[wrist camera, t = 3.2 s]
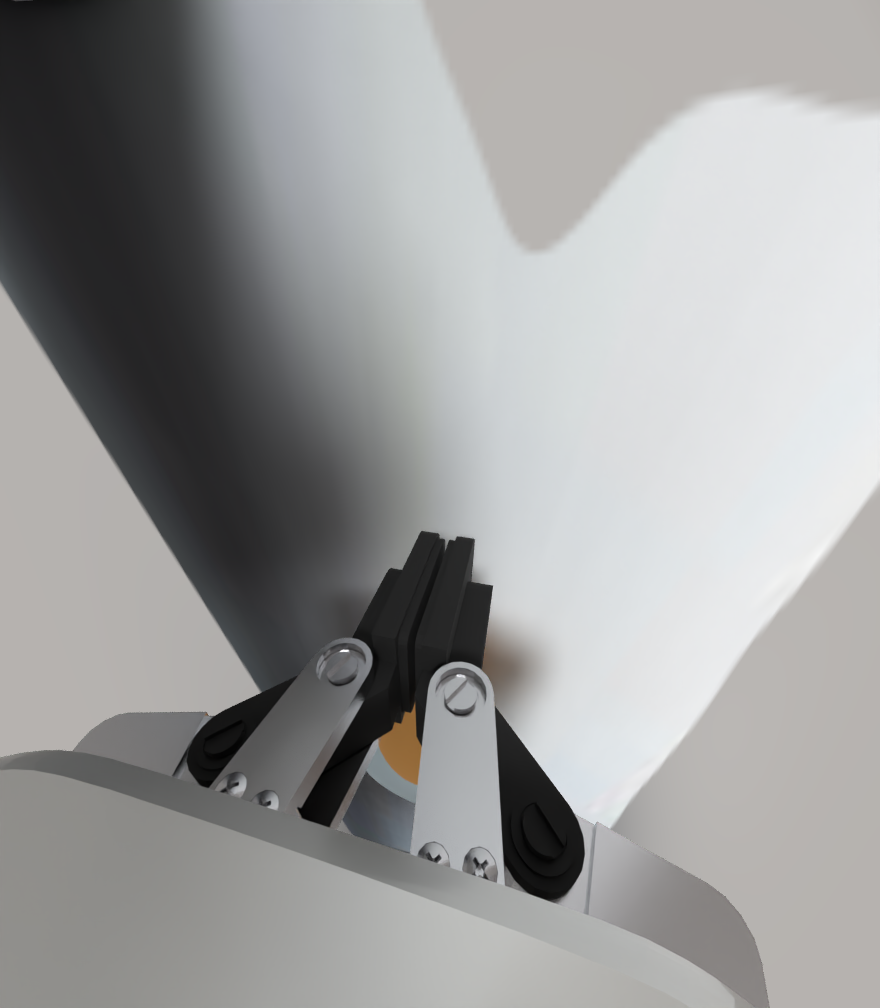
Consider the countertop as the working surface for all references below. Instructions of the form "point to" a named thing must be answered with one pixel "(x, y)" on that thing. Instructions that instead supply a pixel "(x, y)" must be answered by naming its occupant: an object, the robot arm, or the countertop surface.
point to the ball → (403, 748)
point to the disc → (391, 778)
